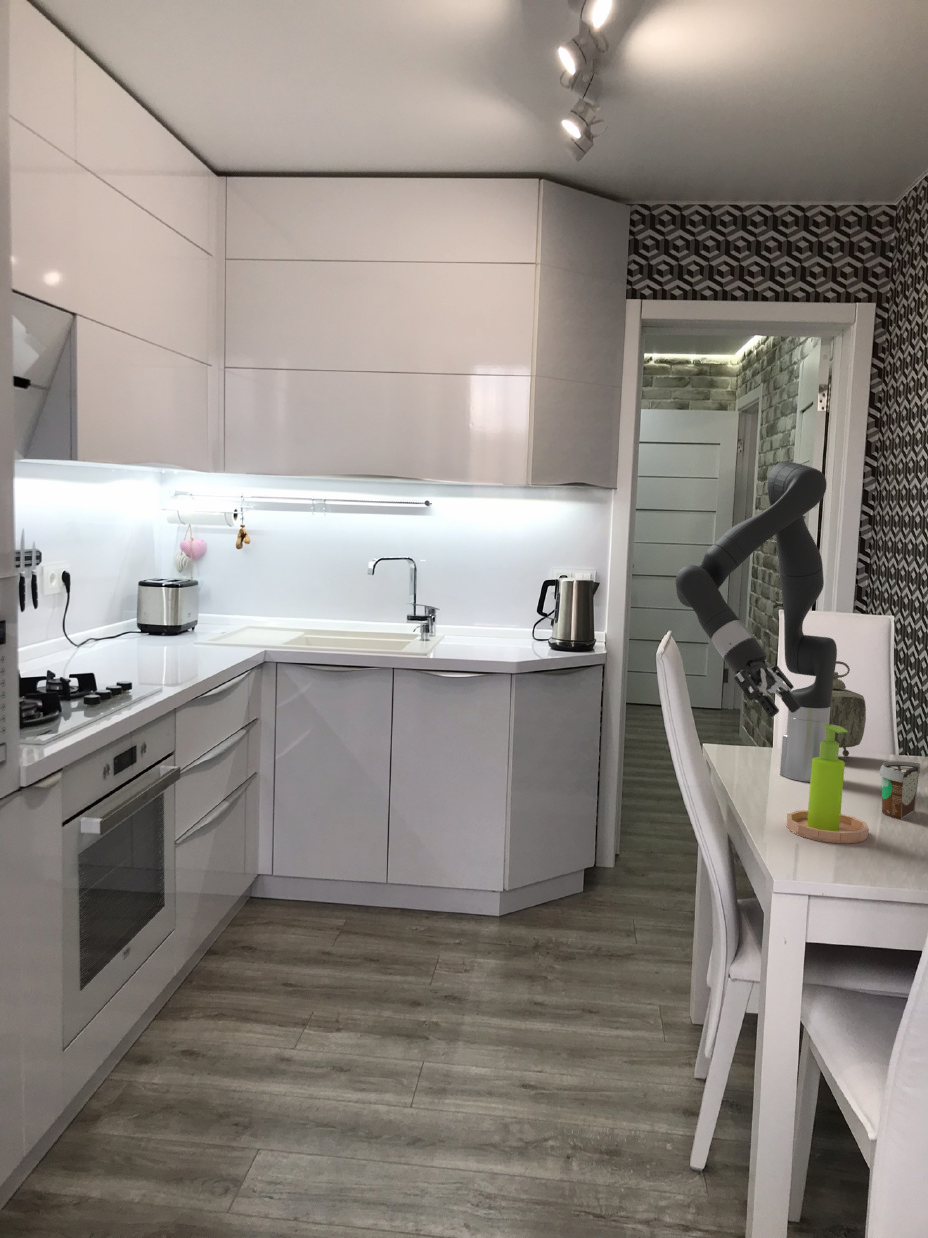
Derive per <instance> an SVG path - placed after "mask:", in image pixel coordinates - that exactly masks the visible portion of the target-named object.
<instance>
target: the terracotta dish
mask: <svg viewBox="0 0 928 1238" xmlns="http://www.w3.org/2000/svg"><path fill="white" fill-rule="evenodd" d="M807 819H808V810H807V809H806V810H795V811H792V812H789V813H787V814H786V829H787V828H788V829H789V830H791V831H792V832H794V833H795V834H794V833H793V834H794V835H796V834H798V835H797V836H799V837H801V836H802V838H805V837H806V839H809V840H812V841H818V842H823V843H831V844H857V843H861V842H864V841H866V840H867V838H868V836H869V831H870V828H869V825H868V823H867V822H866V821H863V820H861V819H859V818H857V817H855V816H851V815H846V814H843V813H841V815H840V827H839V830H838V831H828V830H819V829H816V828H812V827H808V826H807ZM788 829H787V830H788ZM789 830H788V831H789ZM791 831H790V832H791ZM792 832H791V833H792Z"/></svg>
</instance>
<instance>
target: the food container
mask: <svg viewBox="0 0 928 1238" xmlns="http://www.w3.org/2000/svg"><path fill="white" fill-rule="evenodd" d="M920 773H921V763H920V762H914V761H902V760H901V761H899V760H895V761H894V760H893V761H885V762H883V763H882V765H881V766H880V769H879V772H878V774H879V776H881V813H882V814H883V815H885V816H886V817H889V818H892V819H896V820H900V821H901V820H903V819H905V818H907V817H908V816H909V815H910V814H912V813H914V812H915V811H916V802H917V793H918V784H919V776H920Z"/></svg>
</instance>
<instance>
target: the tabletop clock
mask: <svg viewBox="0 0 928 1238" xmlns="http://www.w3.org/2000/svg"><path fill="white" fill-rule="evenodd" d="M838 664H839V665H842V666H845V668H847V672H845V673H843V674H839V673H838V671H835V673H834V681H833V691H832V697H831V706H830V720H829V724H832V725H837V726H840V727H842V728H844V729H845V730H847V731H848V733H837V732H835V741H837V742H838V743H839V749H840V748H841V749H843V750H842V753H841V754H842V756H844V757H848V756H849V755H850V751H849V750H847V748H853V747H856V746H859V745H860V744H861V742H862V740H863V737H864V733H865V727H866V723H867V721H866V720H867V719H866V718H867V717H866V716H867V715H866V713H867V712H866V711H867V709H866V708H867V707H866V700H865V698H864V695H862V694H860V693H858V692H855V691H852V690H850V689H847V687H846V684H845V682H844V681H843V680H841V679H842V678H844V677H847V676H848V675H849V673H850V670H851V669H850V666H849V665H848V664H847V663H846V662H844V661H840V660H836V665H838ZM840 678H841V679H840Z"/></svg>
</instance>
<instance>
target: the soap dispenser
mask: <svg viewBox="0 0 928 1238" xmlns="http://www.w3.org/2000/svg"><path fill="white" fill-rule="evenodd" d="M822 727H823V728H826V738H825V740H823V741H821V742H820V755H819V757H815V758H813V759H812V768H811V781H810V782H809V797H808V808H807V809H808V819H807V826H808V827H812V828H816V829H819V830H828V831H838V830H839V827H840V815H841V814H842V801H843V800H842V799H843V789H844V775H845V765H846V763H845V761H844V760H841V759H839V752H840V751H839V750H840V748H839V743H838V742H837V741H835V732H837V733H848V731H847V730H845V729H844V728H842V727H840V726H837V725H832V724H824V725H823V726H822Z"/></svg>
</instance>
